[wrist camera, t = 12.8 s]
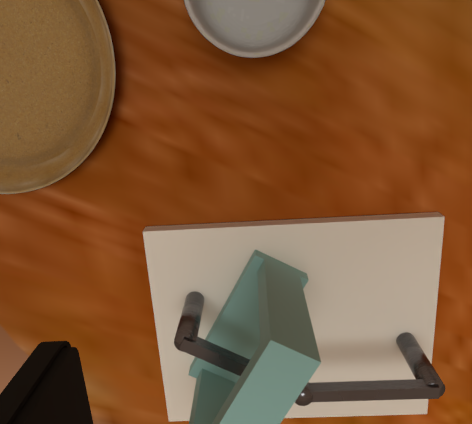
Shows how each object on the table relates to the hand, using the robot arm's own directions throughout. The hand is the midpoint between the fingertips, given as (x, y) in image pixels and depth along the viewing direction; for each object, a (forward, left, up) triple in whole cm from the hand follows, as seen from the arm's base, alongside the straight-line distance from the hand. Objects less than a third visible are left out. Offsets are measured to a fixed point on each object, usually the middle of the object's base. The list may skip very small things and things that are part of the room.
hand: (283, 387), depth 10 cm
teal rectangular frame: (+2, +19, -33) cm, 38 cm away
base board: (-3, +20, -34) cm, 40 cm away
